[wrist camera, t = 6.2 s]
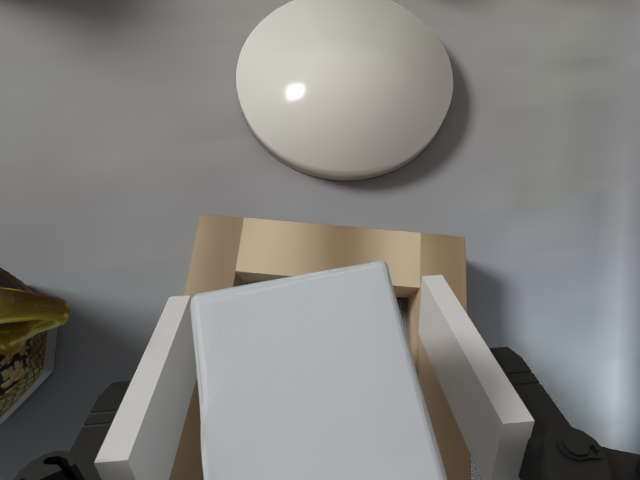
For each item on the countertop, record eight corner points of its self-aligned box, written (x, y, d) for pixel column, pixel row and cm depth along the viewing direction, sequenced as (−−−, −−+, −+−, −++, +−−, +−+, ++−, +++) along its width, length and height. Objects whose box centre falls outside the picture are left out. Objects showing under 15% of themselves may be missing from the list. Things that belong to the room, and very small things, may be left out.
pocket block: (149, 586, 16) (120, 622, 14) (213, 231, 21) (200, 213, 19) (451, 617, 16) (475, 660, 14) (448, 252, 21) (465, 236, 18)
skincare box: (378, 462, 18) (490, 620, 6) (281, 484, 17) (216, 692, 6) (347, 323, 20) (391, 252, 8) (259, 341, 19) (177, 294, 8)
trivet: (224, 170, 22) (219, 159, 21) (255, 1, 26) (252, -17, 25) (447, 190, 22) (454, 179, 21) (445, 15, 26) (452, -2, 24)
